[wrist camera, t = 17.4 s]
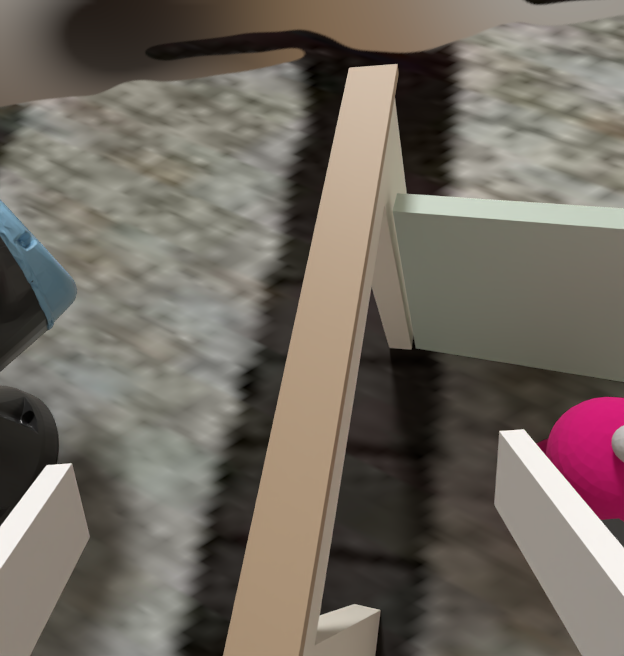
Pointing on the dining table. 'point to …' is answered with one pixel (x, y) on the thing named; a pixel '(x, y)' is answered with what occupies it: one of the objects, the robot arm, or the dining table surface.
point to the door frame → (326, 389)
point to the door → (515, 281)
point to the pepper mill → (592, 453)
